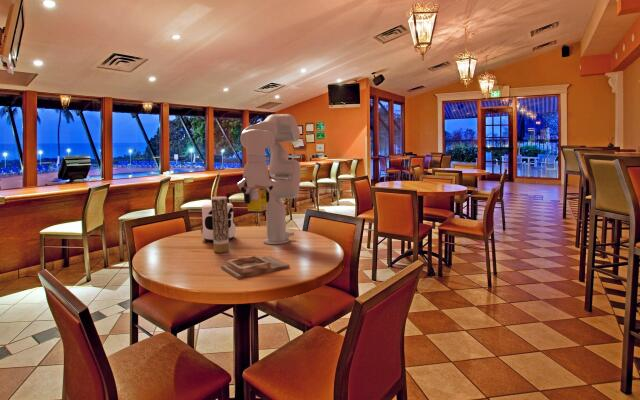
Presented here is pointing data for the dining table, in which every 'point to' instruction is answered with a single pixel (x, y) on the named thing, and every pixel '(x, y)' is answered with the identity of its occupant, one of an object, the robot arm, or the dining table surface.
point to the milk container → (208, 222)
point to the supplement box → (257, 200)
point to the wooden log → (220, 224)
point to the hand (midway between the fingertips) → (257, 202)
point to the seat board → (253, 266)
